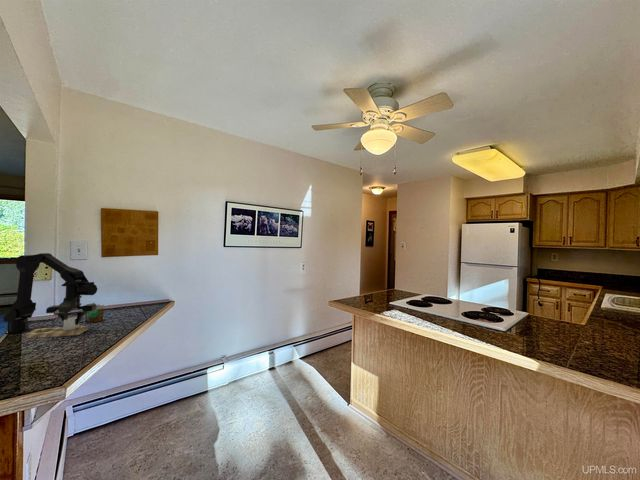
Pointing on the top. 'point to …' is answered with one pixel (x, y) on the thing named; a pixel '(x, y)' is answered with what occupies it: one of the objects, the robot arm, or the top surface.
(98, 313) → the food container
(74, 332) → the rail
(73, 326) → the nut block
